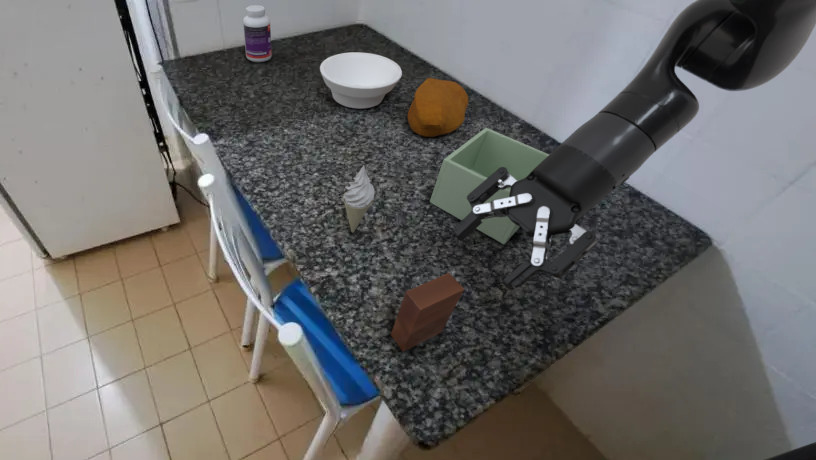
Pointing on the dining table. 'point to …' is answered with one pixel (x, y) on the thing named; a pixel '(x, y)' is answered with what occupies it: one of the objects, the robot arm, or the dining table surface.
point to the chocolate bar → (426, 311)
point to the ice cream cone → (358, 198)
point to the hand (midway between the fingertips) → (480, 260)
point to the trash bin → (483, 176)
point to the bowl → (360, 78)
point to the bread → (437, 108)
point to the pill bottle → (257, 34)
